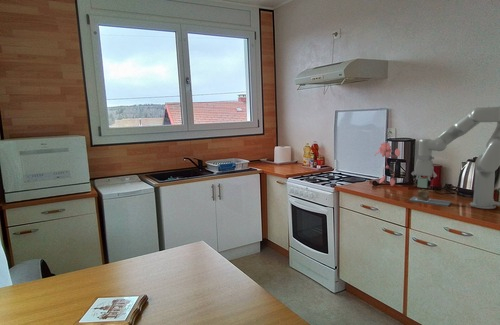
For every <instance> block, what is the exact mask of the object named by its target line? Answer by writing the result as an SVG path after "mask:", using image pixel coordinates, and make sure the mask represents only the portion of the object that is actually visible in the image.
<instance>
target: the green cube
mask: <svg viewBox="0 0 500 325" xmlns="http://www.w3.org/2000/svg"><path fill="white" fill-rule="evenodd" d="M427 184H428V177H422V176H419V178H418V184H416V186H417V187H416V188H422V189H423V188H424V189H427V188H429V187H427Z"/></svg>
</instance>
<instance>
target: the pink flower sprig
mask: <svg viewBox="0 0 500 325" xmlns="http://www.w3.org/2000/svg"><path fill="white" fill-rule="evenodd" d="M378 149H379V150H377V151H376V153H375V154H374V156H377V155H378V154H379V153H380V154H381V157H382V158H384V157H385V163H386V166H385V167H384V168H383V169H382V172H383V176H382V177H381V178H380V180H379V182H378V184H382V183H383V182H385V183H387V181H386V176H385V172H384V171H385V169H389V170H391V171H393V174H392V175H393V176H392V178H390V180H389V184H390V186H391V187H393V186H396V180H395V178H394V177H395V176H394V175H395V170H394V169H392V168H390V165H388V161H387V159H389V158H390V157H392V158H397V157H399V156H400V155H401V150H400V149H399V148H396V149H395V150H394V154H395V156H394V155H392V154H391V153H392V152H393V149H392V146H391V145H390V142H388V141H387V142H384V141H383V142H381V143H380V146H379V148H378ZM376 187H378V188H380V186H377V185H376ZM384 188H387V187H383V189H384Z"/></svg>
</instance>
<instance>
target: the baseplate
mask: <svg viewBox="0 0 500 325" xmlns="http://www.w3.org/2000/svg"><path fill="white" fill-rule="evenodd" d="M408 202H413V203H418V202H420V203H419V204H426V205H433V206H441V207H447V208H448V207H449V206H450V205H451V204H452V200H451V201H450V200H443V199H436V198H429V199H428V200H427V201H423V200H417V196H412V197H411V198H409V200H408Z"/></svg>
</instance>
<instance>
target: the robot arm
mask: <svg viewBox="0 0 500 325" xmlns="http://www.w3.org/2000/svg"><path fill="white" fill-rule="evenodd" d="M480 123H497V124H496V127H495V129H494V131H493V132H492V134H491V136H490V138H489V139H488V140H487V142H486V145H485V149H486V150H485V151H484V153H483V154H481V155H479V156H478V157H476V159H475V163H474V164H475V166H474V170H475V171H474V185H473V198H472V199H473V200H472V201H471V202H469V205H470V206H471V207H473V208H475V209H476V208H477V209H484V210H494V209H496V208H497V207H498V206H499V207H500V201H495V199H494V193H495V192H494V191H495V179H496V178H495V177H496V171H497V170H498V168H499V167H500V106H491V107H490V106H487V107H485V106H483V107H481V106H480V107H474V108H473V109H471V110H470V111H469V112H468V113H466V114H465V115H464V116H462V117H460V119H458V120H457V121H456V122H455V123H454V124H452V125H451V126H450V127H449V128H447V129H446V130H445V131H444V132H442V133H441V134H439V136H437V137H436V138H435V139H431V138H421V139H419V141H418V156H417V160H416V162H415V167H414V170H413V171H412V172H411V173H410V174H411V175H412V176H413V177H414V179H415V185H417V184H418V178H420V177H422V176H423V177H426V178H428V184H427V187H428V188H429V187H430V186H431V183H432V182H431V181H432V180H434V179H435V178H436V177H438V175H437V173H436V172H435V171H434V159H435V157H434V156H432V155H433V152H442V151H445V150H446V148H447V146H448V145H449V144H451V143H452V142H453V141H455V140H456V139H458V138H461V137H463V136H464V135H466V134H468V132H470V131H471V130H473V128H475V127H476V126H478V125H479V124H480Z"/></svg>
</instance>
